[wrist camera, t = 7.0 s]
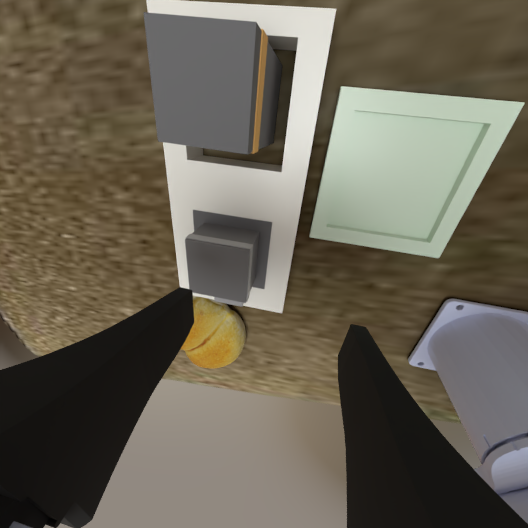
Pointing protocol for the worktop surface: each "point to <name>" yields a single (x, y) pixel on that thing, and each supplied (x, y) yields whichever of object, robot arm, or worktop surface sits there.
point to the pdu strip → (248, 173)
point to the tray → (405, 167)
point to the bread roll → (214, 334)
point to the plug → (212, 82)
